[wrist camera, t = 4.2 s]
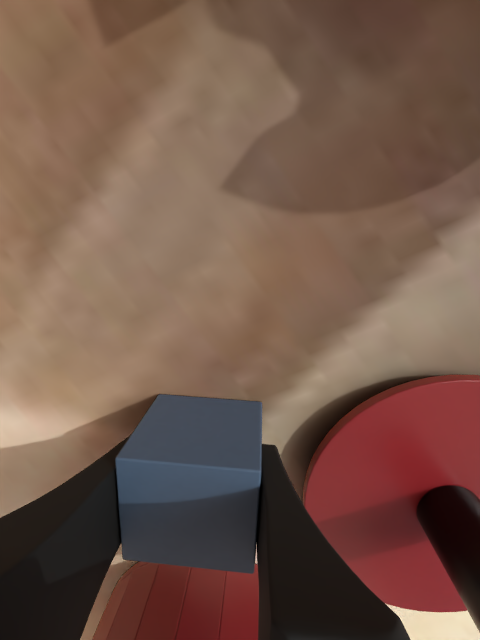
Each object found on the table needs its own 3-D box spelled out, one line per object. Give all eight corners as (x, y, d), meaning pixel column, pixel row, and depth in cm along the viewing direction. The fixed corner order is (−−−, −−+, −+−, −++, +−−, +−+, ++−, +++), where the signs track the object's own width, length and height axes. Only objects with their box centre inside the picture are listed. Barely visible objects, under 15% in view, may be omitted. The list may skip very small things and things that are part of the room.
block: (262, 401, 13) (261, 471, 9) (256, 481, 14) (254, 575, 10) (158, 393, 13) (114, 458, 9) (160, 472, 14) (122, 560, 10)
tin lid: (583, 342, 11) (835, 424, 6) (573, 574, 14) (744, 761, 9) (279, 393, 13) (289, 492, 8) (322, 594, 15) (350, 765, 10)
